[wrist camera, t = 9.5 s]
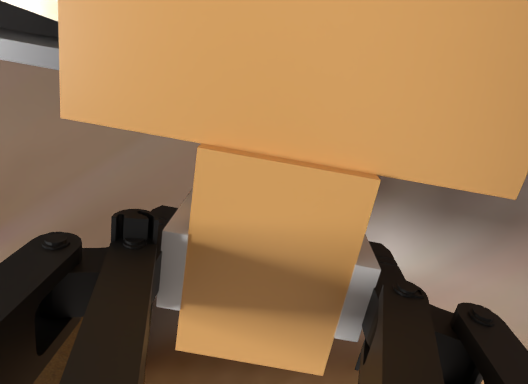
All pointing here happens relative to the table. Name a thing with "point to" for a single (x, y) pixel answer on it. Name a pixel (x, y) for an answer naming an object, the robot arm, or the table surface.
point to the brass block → (38, 7)
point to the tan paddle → (299, 137)
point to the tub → (28, 37)
